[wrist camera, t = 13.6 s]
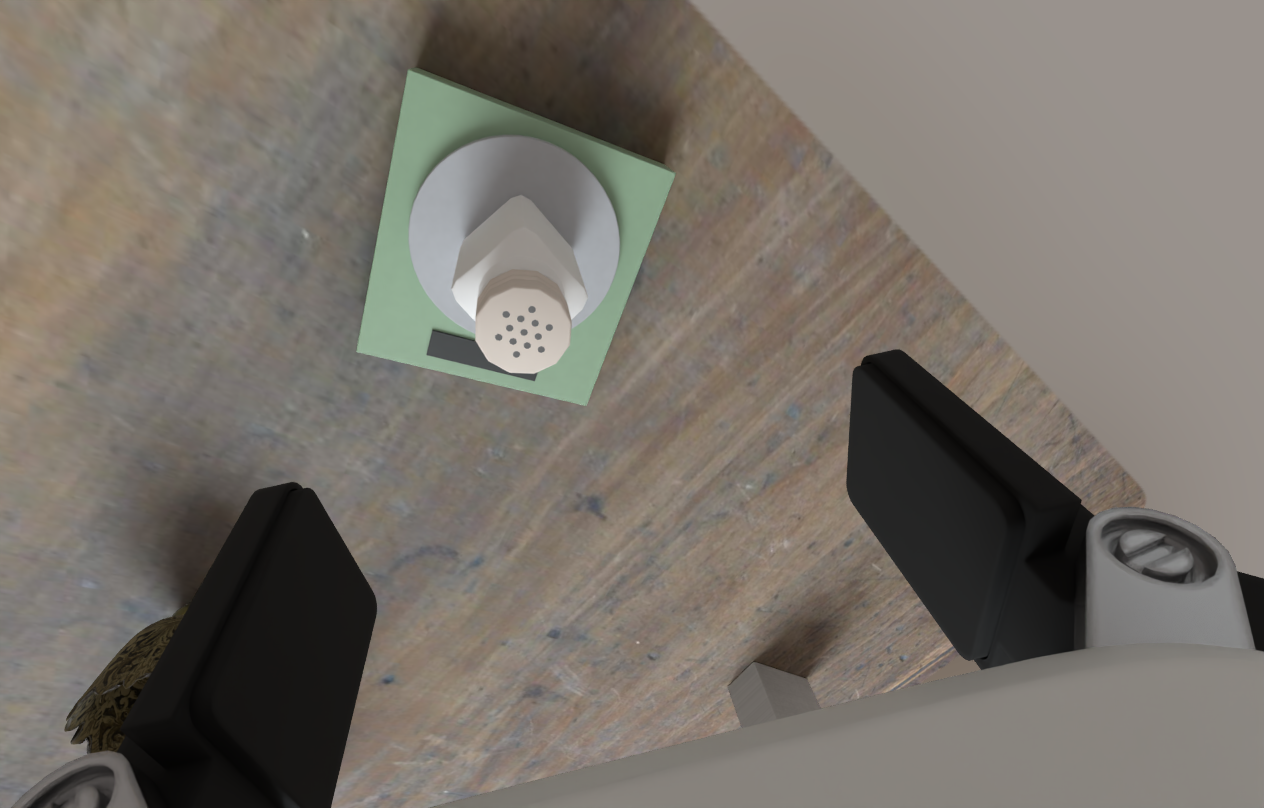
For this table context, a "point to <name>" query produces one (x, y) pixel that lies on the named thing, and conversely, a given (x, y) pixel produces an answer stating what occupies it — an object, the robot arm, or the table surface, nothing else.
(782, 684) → the grey upright carton
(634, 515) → the table surface
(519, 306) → the pepper shaker
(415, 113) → the kitchen scale
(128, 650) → the cup
